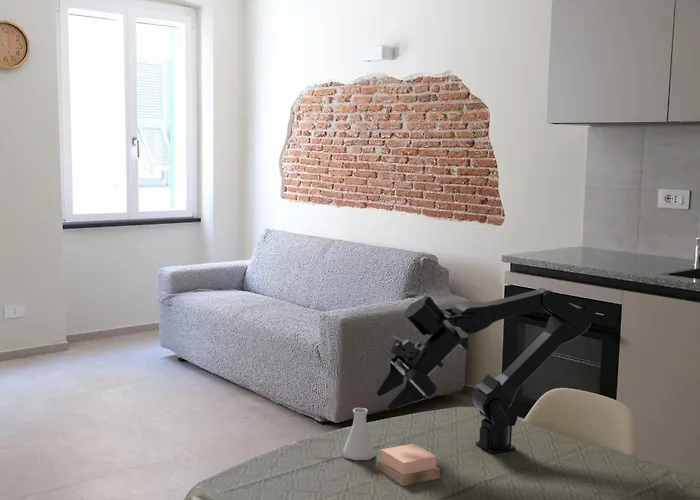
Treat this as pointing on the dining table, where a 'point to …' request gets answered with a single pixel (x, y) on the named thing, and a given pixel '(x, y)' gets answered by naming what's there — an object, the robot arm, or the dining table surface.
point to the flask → (359, 438)
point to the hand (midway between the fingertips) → (383, 401)
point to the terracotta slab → (408, 459)
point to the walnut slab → (409, 475)
